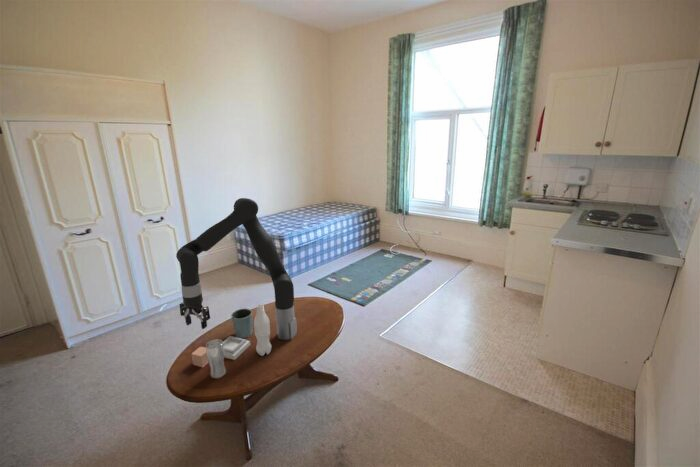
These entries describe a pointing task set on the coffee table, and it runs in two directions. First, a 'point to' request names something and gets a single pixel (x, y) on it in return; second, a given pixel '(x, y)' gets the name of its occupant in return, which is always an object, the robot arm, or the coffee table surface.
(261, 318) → the water bottle
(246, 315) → the teal cup
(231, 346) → the grey stand
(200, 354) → the terracotta block
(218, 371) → the beer glass
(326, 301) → the coffee table surface
